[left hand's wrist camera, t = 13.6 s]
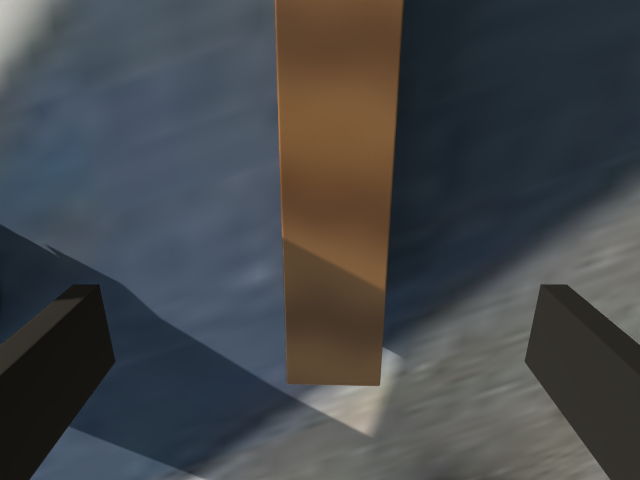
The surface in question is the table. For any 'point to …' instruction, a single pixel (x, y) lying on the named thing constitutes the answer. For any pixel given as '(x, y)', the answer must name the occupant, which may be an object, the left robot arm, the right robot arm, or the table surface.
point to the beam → (336, 182)
